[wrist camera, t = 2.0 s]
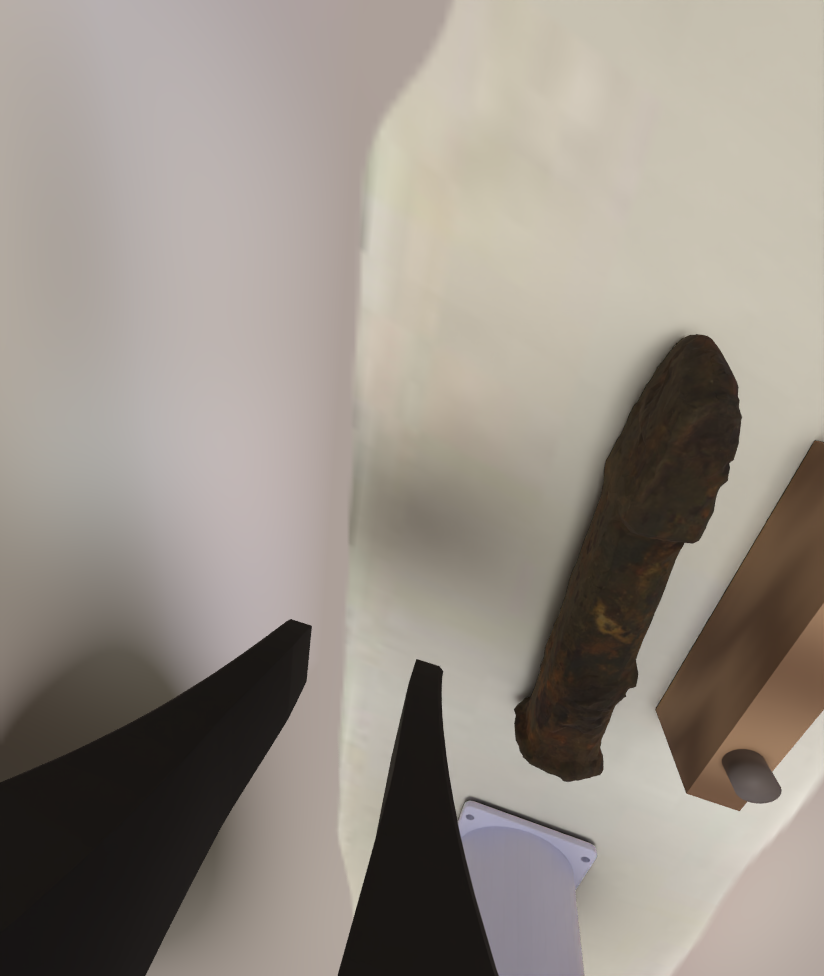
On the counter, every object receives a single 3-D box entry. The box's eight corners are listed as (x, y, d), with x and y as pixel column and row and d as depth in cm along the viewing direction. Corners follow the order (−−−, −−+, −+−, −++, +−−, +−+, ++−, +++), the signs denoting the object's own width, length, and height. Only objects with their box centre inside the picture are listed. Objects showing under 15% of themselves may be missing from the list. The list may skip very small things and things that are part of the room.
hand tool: (588, 721, 22) (606, 816, 18) (512, 698, 22) (512, 784, 18) (764, 349, 14) (870, 359, 10) (644, 330, 15) (696, 331, 11)
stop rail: (698, 722, 20) (752, 839, 15) (655, 709, 20) (696, 820, 16) (877, 453, 14) (1045, 512, 10) (815, 440, 15) (950, 491, 10)
